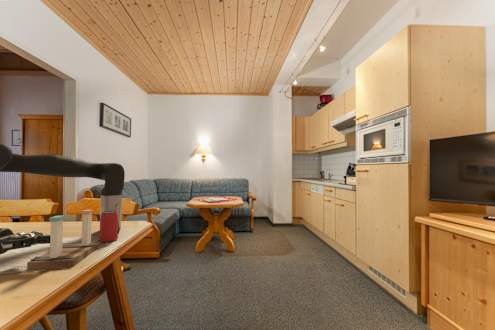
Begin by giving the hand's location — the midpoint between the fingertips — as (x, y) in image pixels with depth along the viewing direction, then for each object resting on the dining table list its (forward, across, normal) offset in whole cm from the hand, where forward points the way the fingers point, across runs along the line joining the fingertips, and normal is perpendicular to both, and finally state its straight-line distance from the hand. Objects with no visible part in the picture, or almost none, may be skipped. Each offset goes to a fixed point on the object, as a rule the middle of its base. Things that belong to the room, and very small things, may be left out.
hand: (53, 239), depth 74 cm
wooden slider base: (+1, +6, +8) cm, 10 cm away
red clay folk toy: (+5, +35, +8) cm, 36 cm away
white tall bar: (+4, +12, +5) cm, 14 cm away
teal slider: (+1, 0, +5) cm, 5 cm away
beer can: (+7, +26, +8) cm, 28 cm away
